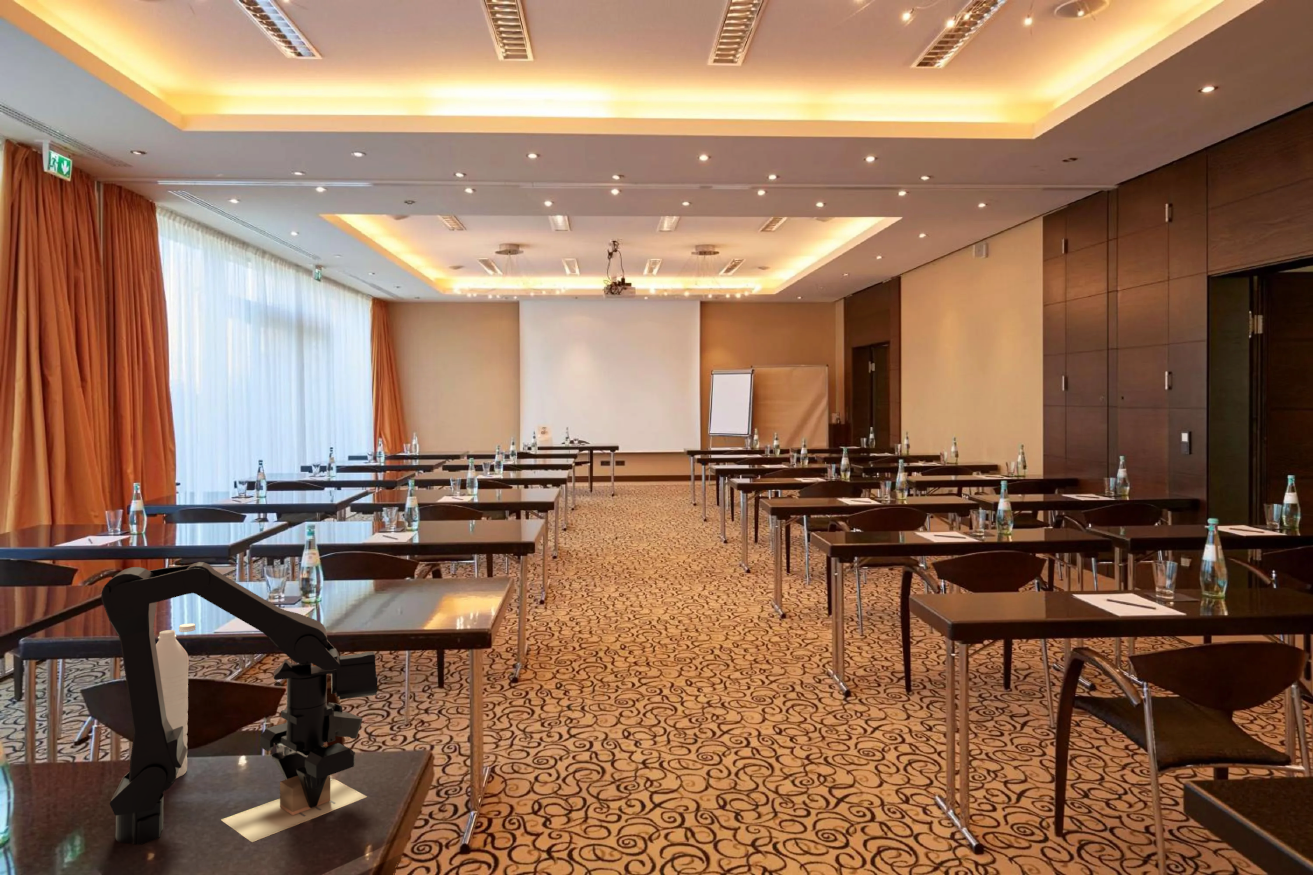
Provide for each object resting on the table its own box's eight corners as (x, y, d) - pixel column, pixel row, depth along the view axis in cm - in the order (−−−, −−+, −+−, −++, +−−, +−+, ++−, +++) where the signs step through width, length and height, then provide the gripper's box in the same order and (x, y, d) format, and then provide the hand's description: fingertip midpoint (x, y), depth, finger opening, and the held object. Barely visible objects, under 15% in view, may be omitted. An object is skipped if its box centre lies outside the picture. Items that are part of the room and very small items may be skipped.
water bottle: (165, 785, 130) (167, 636, 130) (133, 780, 131) (135, 633, 131) (206, 763, 138) (208, 624, 138) (175, 759, 140) (177, 622, 140)
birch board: (220, 829, 116) (220, 819, 116) (333, 787, 130) (334, 778, 130) (251, 852, 110) (251, 841, 110) (367, 805, 124) (367, 796, 124)
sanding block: (279, 807, 120) (280, 781, 120) (317, 793, 124) (317, 768, 124) (292, 815, 117) (292, 788, 117) (330, 800, 122) (330, 775, 122)
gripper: (386, 702, 121) (385, 801, 121) (325, 678, 133) (324, 768, 133) (318, 722, 113) (317, 829, 113) (258, 694, 124) (258, 791, 124)
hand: (306, 802), depth 121 cm, fingers closed on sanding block, 4 cm apart
